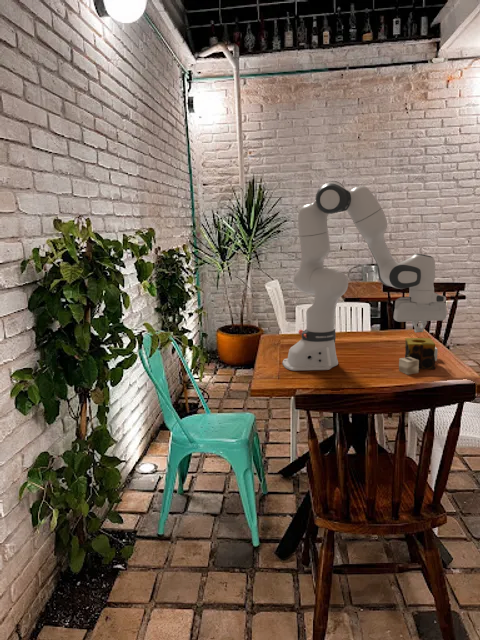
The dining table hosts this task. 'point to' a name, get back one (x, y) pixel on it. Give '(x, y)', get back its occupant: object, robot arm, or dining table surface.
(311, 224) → the robot arm
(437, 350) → the cream block marked
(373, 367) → the dining table surface
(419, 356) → the candle
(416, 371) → the beech block marked
